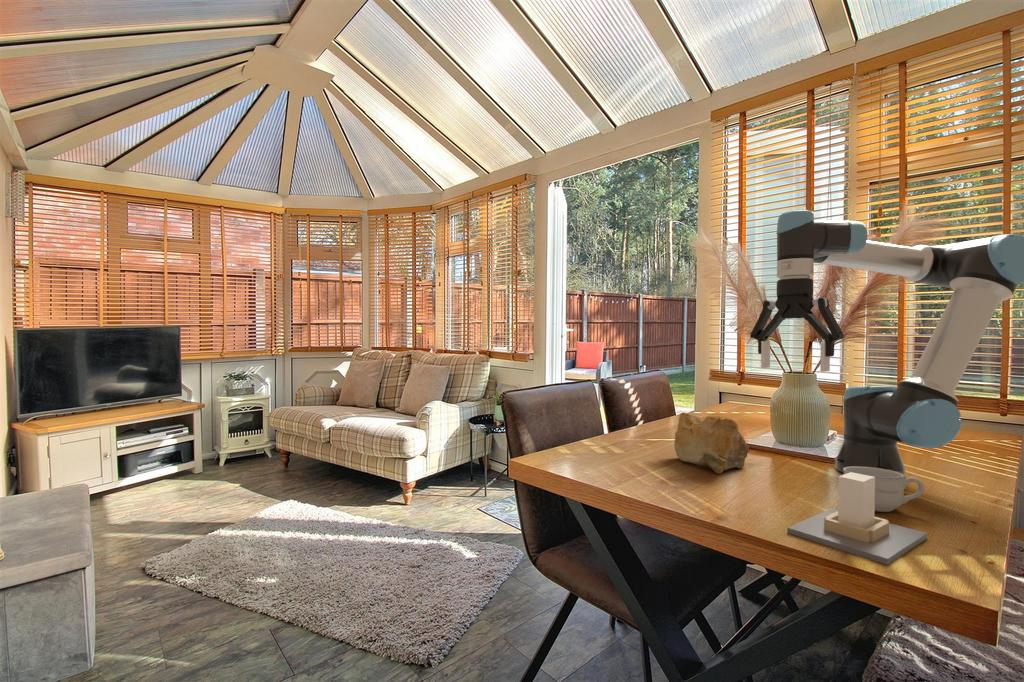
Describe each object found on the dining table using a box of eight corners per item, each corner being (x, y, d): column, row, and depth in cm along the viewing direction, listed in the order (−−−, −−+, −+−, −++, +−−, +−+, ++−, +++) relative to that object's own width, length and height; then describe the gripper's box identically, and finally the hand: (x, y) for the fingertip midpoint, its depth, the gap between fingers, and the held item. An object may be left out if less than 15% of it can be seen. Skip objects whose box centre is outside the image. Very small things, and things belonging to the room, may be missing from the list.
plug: (850, 524, 98) (850, 472, 98) (874, 530, 95) (874, 476, 94) (838, 530, 95) (838, 476, 95) (862, 537, 92) (863, 481, 91)
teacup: (836, 507, 110) (837, 470, 110) (849, 495, 117) (849, 461, 117) (919, 525, 100) (919, 484, 100) (927, 511, 108) (927, 473, 107)
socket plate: (831, 512, 107) (832, 498, 106) (927, 538, 93) (927, 522, 93) (787, 532, 96) (787, 517, 96) (887, 564, 83) (887, 546, 83)
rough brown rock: (772, 479, 133) (775, 421, 133) (715, 478, 129) (719, 419, 130) (717, 460, 156) (720, 410, 156) (668, 458, 152) (671, 408, 152)
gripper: (735, 281, 128) (735, 366, 128) (846, 272, 107) (845, 374, 108) (752, 283, 132) (751, 365, 133) (862, 274, 112) (860, 372, 112)
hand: (793, 369), depth 120 cm, fingers open, 13 cm apart
